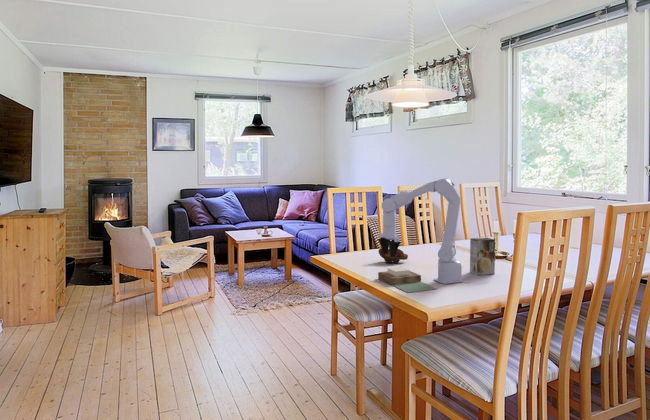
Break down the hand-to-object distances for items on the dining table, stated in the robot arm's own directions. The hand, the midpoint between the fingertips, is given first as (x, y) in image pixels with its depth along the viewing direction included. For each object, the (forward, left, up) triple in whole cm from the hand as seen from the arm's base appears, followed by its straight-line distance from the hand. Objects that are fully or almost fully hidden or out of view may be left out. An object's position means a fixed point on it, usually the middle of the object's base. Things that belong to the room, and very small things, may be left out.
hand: (389, 255), depth 209 cm
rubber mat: (0, +21, -9) cm, 23 cm away
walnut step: (0, +9, -9) cm, 13 cm away
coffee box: (-42, +12, -10) cm, 45 cm away
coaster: (0, +9, -6) cm, 11 cm away
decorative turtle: (-16, -24, -10) cm, 30 cm away
